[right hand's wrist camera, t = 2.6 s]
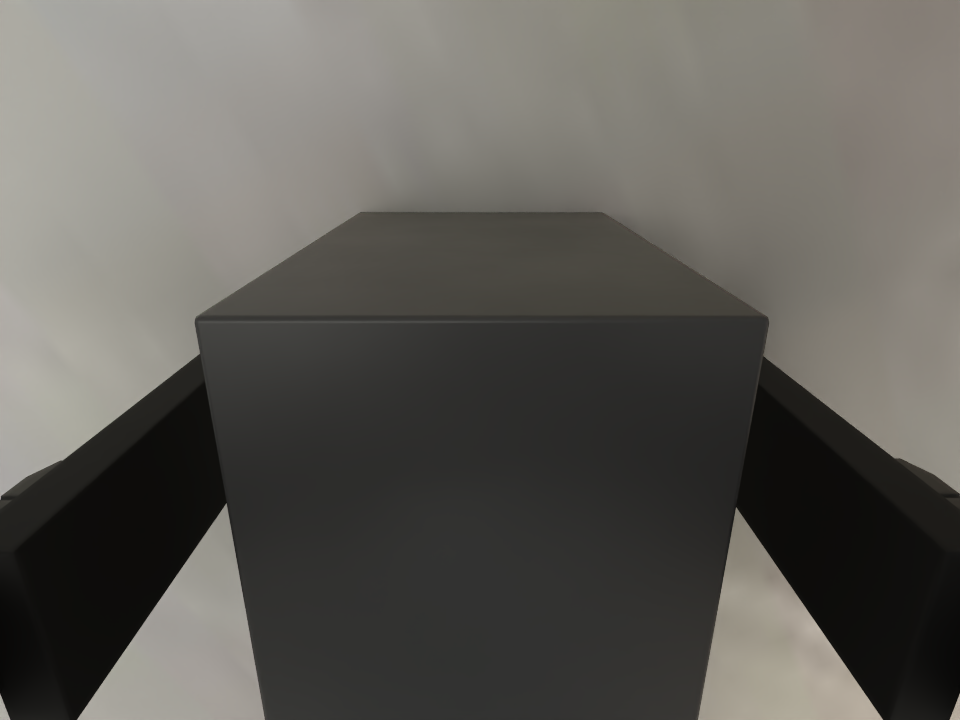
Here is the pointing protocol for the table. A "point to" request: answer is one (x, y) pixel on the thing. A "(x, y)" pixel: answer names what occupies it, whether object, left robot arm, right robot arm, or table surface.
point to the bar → (481, 468)
